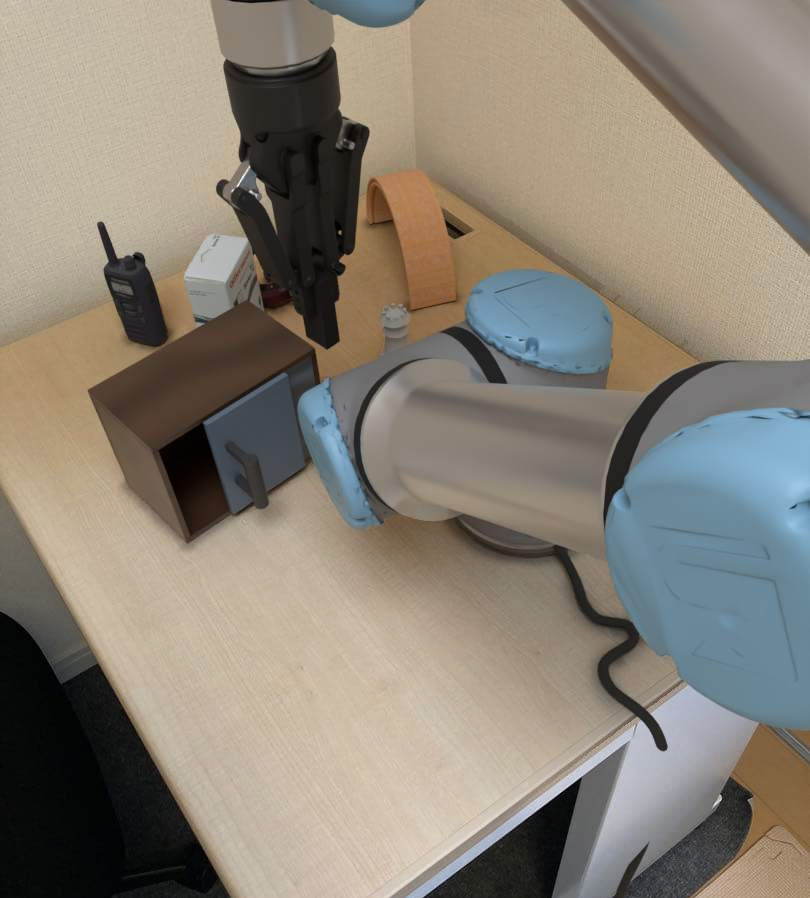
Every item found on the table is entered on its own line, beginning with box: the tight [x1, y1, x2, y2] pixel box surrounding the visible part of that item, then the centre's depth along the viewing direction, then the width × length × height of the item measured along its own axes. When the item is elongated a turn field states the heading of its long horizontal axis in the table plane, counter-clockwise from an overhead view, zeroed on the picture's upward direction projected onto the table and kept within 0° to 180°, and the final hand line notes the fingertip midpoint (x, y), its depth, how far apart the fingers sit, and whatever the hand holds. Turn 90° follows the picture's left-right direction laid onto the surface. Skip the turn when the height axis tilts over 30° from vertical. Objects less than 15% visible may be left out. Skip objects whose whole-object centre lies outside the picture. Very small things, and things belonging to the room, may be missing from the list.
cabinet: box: [86, 300, 322, 544], centre depth 88 cm, size 10×18×13 cm, turn 133°
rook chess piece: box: [378, 302, 411, 358], centre depth 97 cm, size 4×4×8 cm
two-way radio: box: [96, 220, 168, 347], centre depth 101 cm, size 6×4×15 cm
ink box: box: [183, 233, 265, 328], centre depth 100 cm, size 9×5×12 cm, turn 168°
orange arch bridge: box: [365, 168, 457, 311], centre depth 109 cm, size 6×20×10 cm, turn 16°
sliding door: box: [203, 373, 307, 515], centre depth 84 cm, size 5×9×12 cm, turn 133°
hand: (323, 338), depth 78 cm, fingers closed
